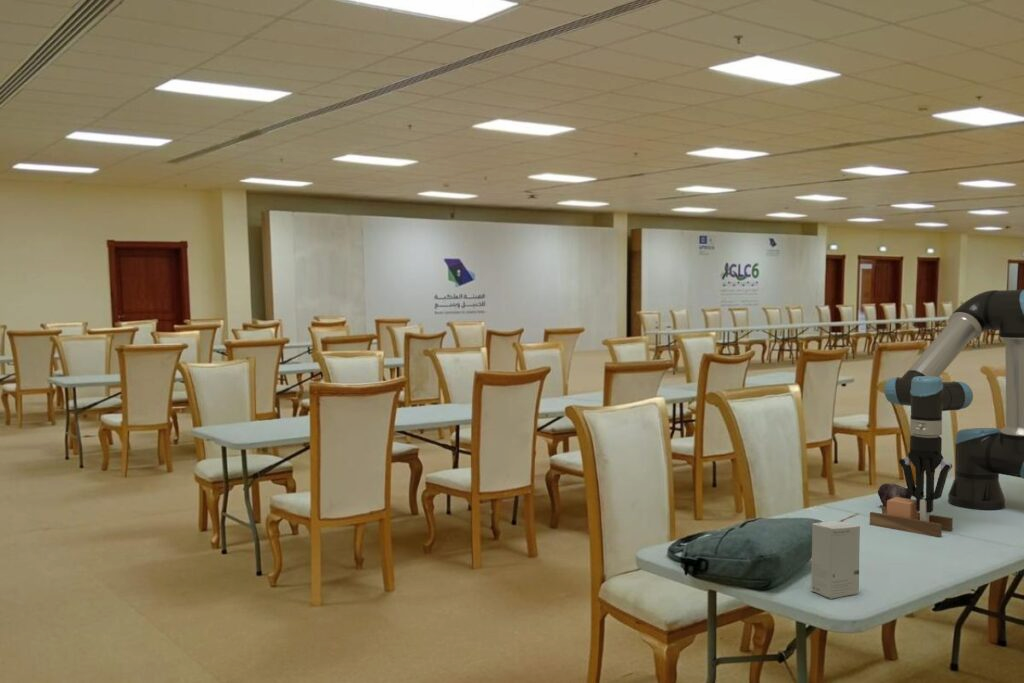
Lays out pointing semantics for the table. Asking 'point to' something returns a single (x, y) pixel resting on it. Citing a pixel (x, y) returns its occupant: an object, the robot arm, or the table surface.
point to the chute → (911, 523)
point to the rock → (892, 492)
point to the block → (902, 508)
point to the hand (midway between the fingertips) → (924, 523)
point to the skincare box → (835, 559)
